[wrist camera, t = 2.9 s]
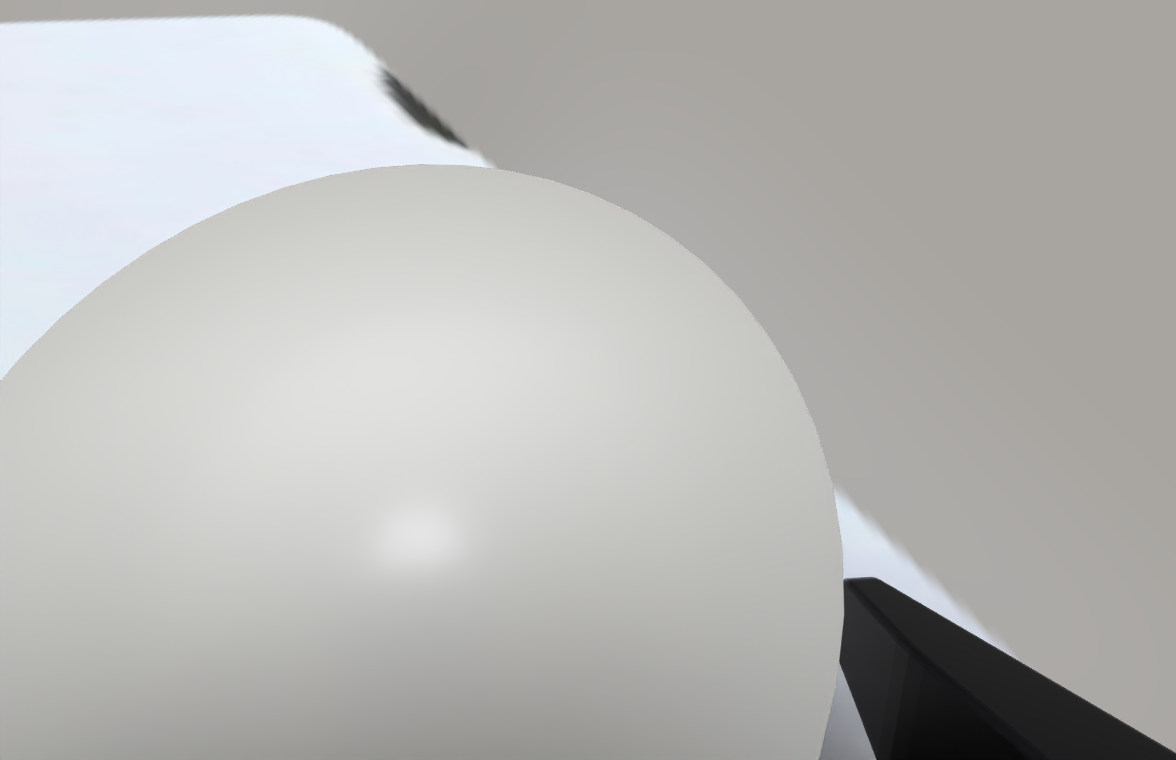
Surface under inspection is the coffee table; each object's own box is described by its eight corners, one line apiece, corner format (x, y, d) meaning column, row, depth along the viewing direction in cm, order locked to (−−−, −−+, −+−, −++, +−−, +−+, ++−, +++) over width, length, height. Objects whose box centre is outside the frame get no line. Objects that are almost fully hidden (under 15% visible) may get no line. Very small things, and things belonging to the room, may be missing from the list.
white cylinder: (709, 640, 14) (1060, 568, 4) (509, 834, 13) (28, 1806, 2) (557, 458, 16) (489, 66, 6) (369, 603, 15) (-233, 440, 4)
